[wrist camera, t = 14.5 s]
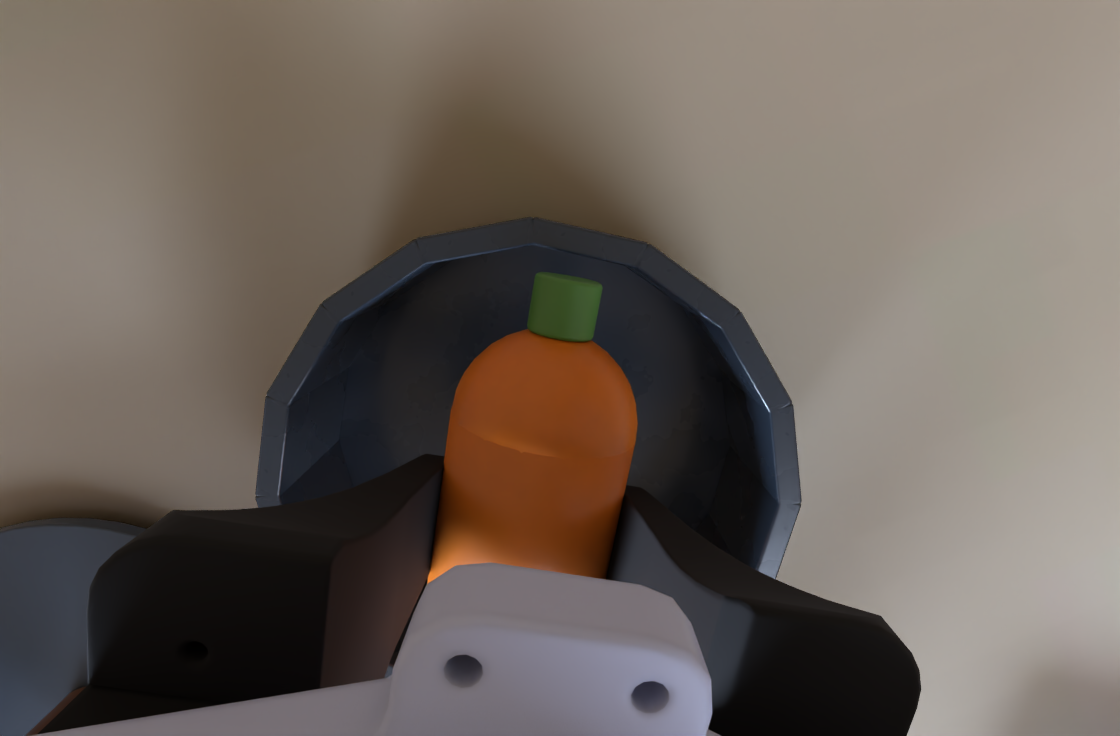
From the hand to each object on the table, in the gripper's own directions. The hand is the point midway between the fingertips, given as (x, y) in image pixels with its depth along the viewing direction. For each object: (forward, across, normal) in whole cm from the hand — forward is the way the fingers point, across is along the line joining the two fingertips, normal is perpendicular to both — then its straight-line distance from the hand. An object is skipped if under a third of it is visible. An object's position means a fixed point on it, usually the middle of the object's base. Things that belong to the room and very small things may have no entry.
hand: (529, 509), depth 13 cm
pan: (+5, 0, 0) cm, 5 cm away
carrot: (+1, 0, 0) cm, 1 cm away
